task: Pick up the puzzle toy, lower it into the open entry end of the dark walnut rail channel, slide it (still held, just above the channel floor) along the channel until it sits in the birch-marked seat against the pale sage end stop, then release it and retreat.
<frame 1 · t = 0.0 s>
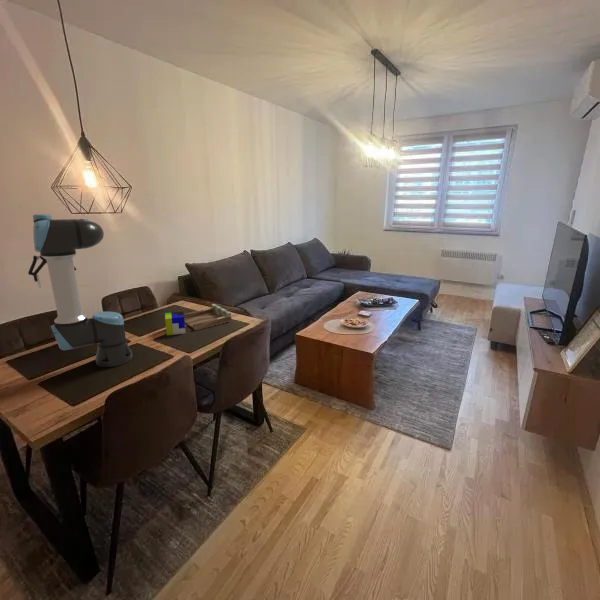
hand: (55, 285, 174), 28 cm above the table, fingers open, 13 cm apart
puzzle toy: (176, 331, 190), on the table
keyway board: (205, 320, 207), on the table
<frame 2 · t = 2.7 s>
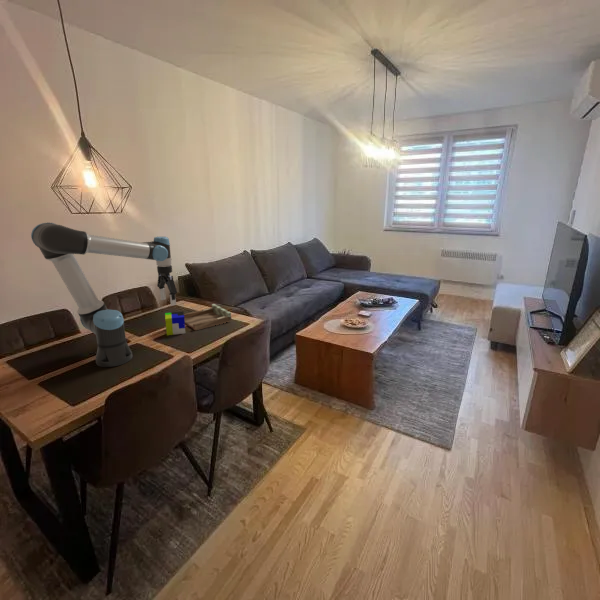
hand: (168, 302, 185), 17 cm above the table, fingers open, 13 cm apart
nothing on the table moved.
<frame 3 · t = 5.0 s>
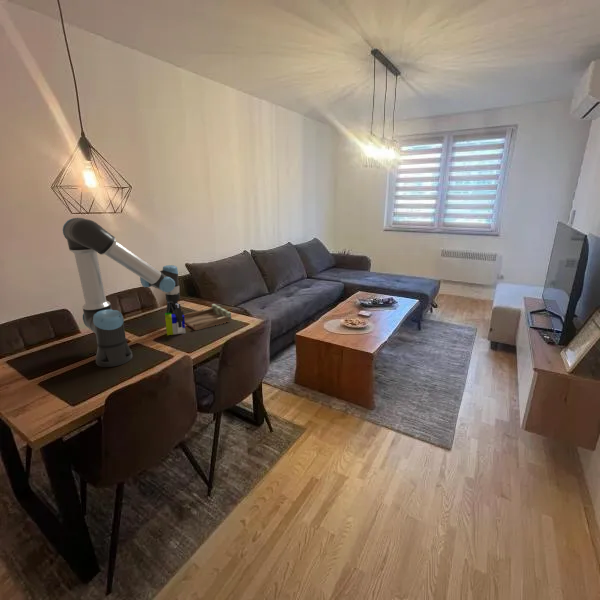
hand: (175, 328, 190), 1 cm above the table, fingers closed on puzzle toy, 12 cm apart
puzzle toy: (175, 331, 190), on the table, touching gripper
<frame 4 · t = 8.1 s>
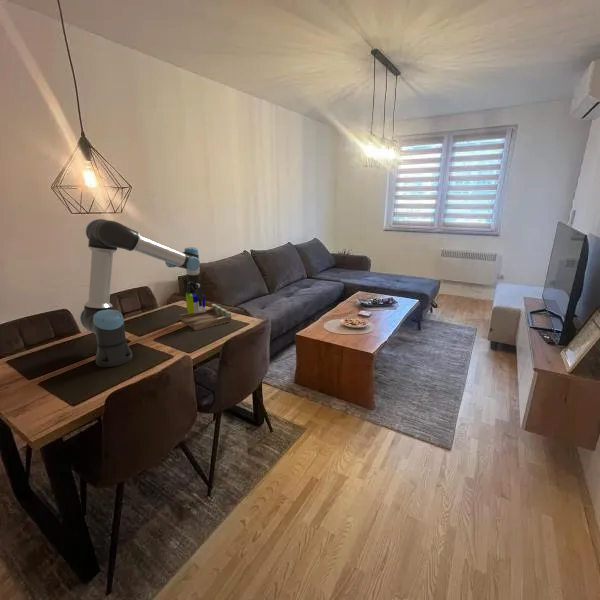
hand: (196, 308, 201), 10 cm above the table, fingers closed on puzzle toy, 12 cm apart
puzzle toy: (196, 310, 201), point 8 cm above the table, touching gripper
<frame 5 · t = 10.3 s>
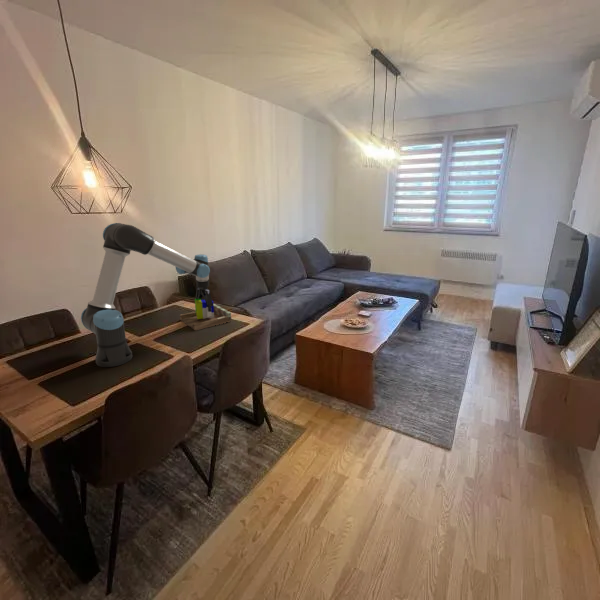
hand: (204, 313, 206), 5 cm above the table, fingers closed on puzzle toy, 12 cm apart
puzzle toy: (204, 315, 206), point 3 cm above the table, touching gripper
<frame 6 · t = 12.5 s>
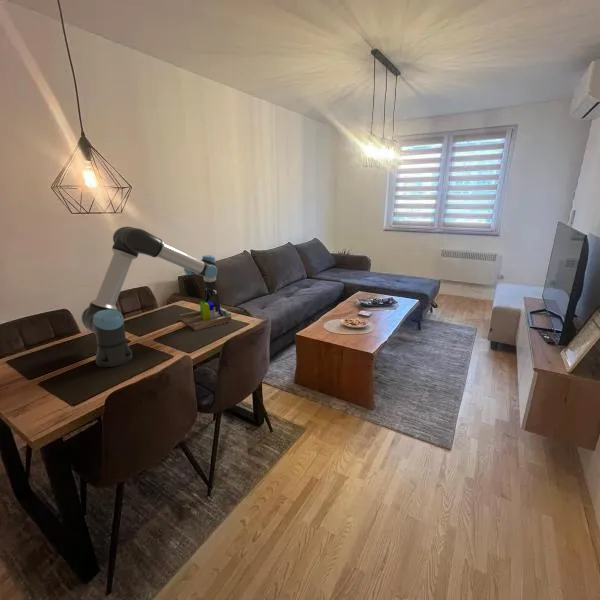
hand: (212, 313, 209), 4 cm above the table, fingers closed on puzzle toy, 11 cm apart
puzzle toy: (210, 318, 209), point 1 cm above the table, touching gripper, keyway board
when the fingers open (4 cm above the table, at t = 12.7 s): puzzle toy stays where it is, resting on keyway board.
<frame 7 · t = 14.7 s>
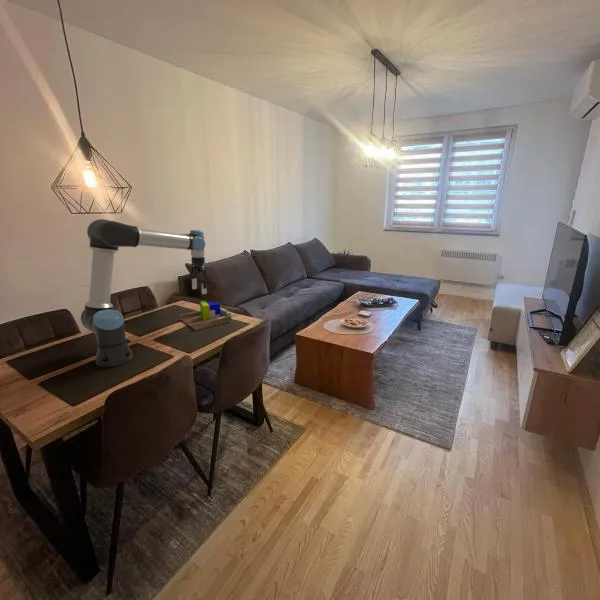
hand: (199, 291, 199), 20 cm above the table, fingers open, 13 cm apart
puzzle toy: (210, 318, 209), point 1 cm above the table, touching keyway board
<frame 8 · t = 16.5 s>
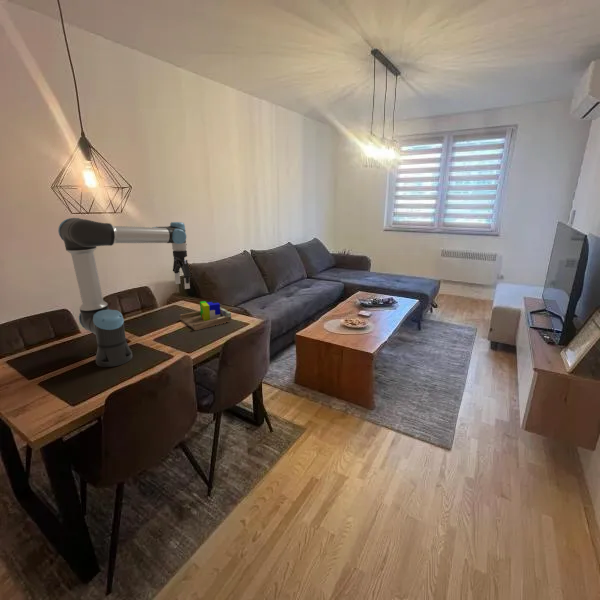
hand: (182, 286, 192), 25 cm above the table, fingers open, 13 cm apart
nothing on the table moved.
at the end: puzzle toy inside the target area (0.9 cm from its centre), point 1.0 cm above the table; puzzle toy tilted 0°; the gripper is holding nothing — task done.
